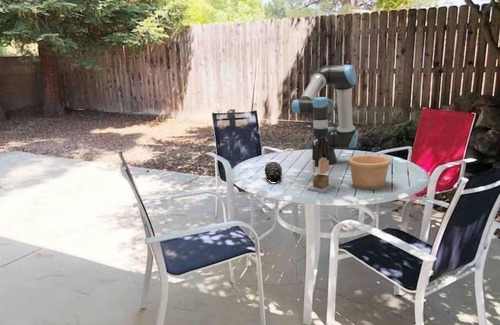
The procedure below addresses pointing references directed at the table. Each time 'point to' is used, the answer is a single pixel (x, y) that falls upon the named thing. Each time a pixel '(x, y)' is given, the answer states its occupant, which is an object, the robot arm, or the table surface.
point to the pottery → (369, 171)
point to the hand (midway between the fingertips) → (320, 171)
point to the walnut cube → (320, 181)
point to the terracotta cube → (322, 166)
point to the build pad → (321, 189)
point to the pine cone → (273, 171)
